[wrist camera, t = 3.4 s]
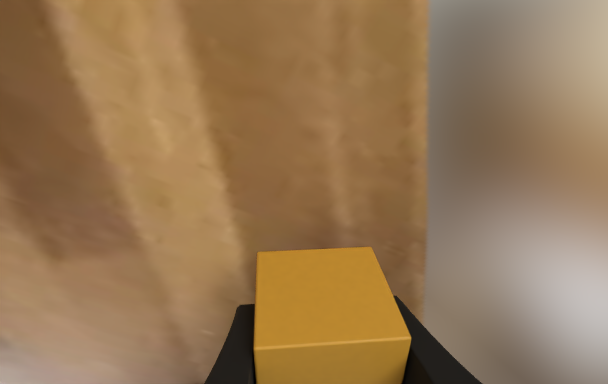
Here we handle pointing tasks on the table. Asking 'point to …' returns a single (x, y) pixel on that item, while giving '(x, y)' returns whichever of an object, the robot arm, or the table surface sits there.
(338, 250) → the cube
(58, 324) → the table surface
